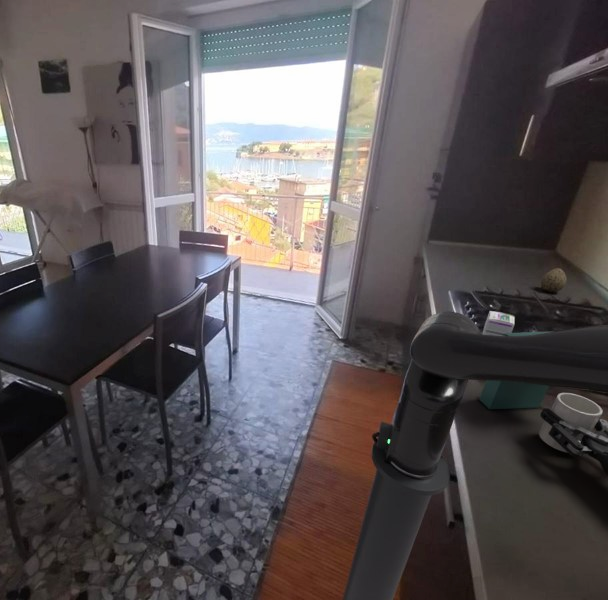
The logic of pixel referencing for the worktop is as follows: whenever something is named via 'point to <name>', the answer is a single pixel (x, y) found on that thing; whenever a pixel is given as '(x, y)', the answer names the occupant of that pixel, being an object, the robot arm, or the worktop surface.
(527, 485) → the worktop surface
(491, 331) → the syrup box
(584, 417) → the cup
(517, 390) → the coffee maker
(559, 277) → the decorative egg
